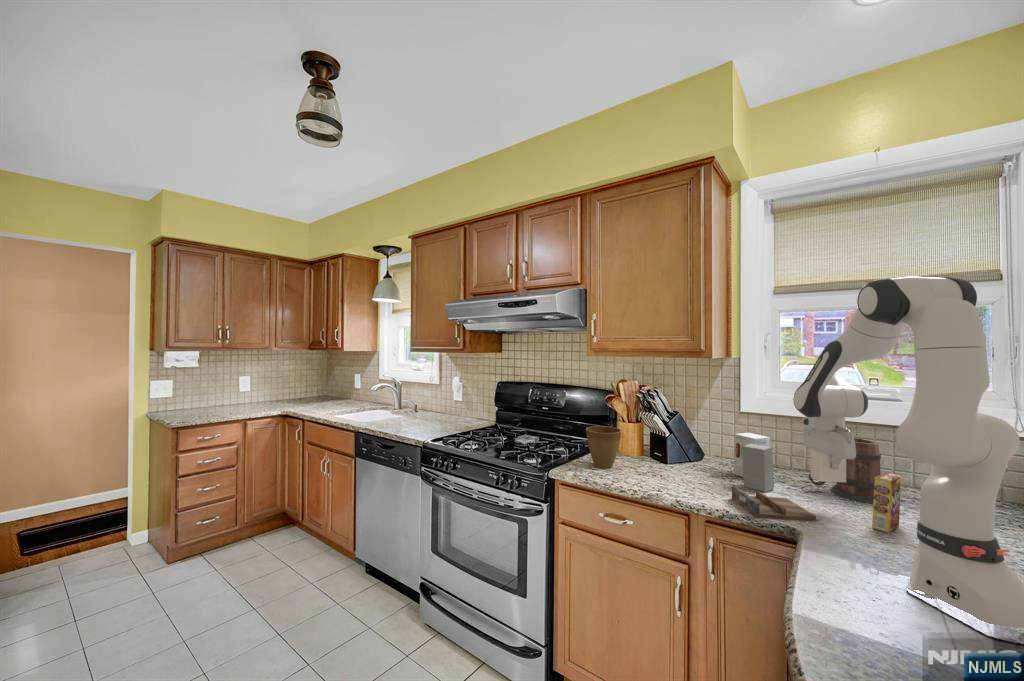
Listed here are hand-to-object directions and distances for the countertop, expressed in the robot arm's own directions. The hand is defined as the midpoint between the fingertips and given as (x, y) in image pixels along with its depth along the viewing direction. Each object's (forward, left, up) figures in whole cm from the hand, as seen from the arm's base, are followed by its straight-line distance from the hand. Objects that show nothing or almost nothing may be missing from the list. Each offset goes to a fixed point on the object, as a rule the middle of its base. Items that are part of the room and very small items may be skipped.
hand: (828, 466), depth 138 cm
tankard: (+18, -19, -15) cm, 30 cm away
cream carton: (0, 0, -4) cm, 4 cm away
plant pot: (+42, +65, -15) cm, 79 cm away
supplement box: (+36, +6, -15) cm, 40 cm away
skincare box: (+21, +11, -15) cm, 28 cm away
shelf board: (0, +17, -15) cm, 22 cm away
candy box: (-11, -10, -15) cm, 21 cm away
